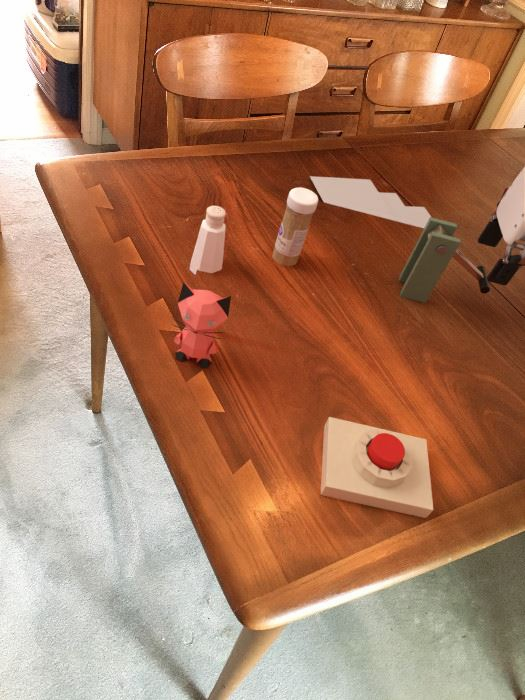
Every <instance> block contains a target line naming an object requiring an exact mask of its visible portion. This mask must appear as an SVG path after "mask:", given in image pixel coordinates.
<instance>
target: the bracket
mask: <svg viewBox="0 0 525 700" xmlns="http://www.w3.org/2000/svg"><path fill="white" fill-rule="evenodd" d="M457 224H458V223H455V222H451V221H447V220H443V219H439V218H436V217H432V216H431V217H430V218H429V220H428V222H427V224H426V226H425V228H423V229H422V232H421V234H420V235H419V237H418V239H417V241H416V244H415V245H414V246H413V249H412V251H411V253H410V254H409V256H408V258H407V261H406V263H405V265H404V267H403V269H402V271H401V272H400V274H399V276H398V282H400V283H404V284H403V286H402V288H401V290H400V292H399V297H401V298H405V299H408V300H412V301H416V302H419V303H420V302H421V303H426V302H427V301H428V299H429V297H430V296H431V294H432V292H433V290H434V289H435V287H436V285H437V284H438V282H439V280H440V279H441V277H442V276H443V274H444V272H445V270H446V268H447V267H448V265H449V263H450V262H451V261H452V258H453V257H452V256H453V255H454V253H455V251H456V250H458V248H459V246H460V245H461V243H462V242H461V238H458V237H454V234H455V233H456V230H457V229H458V225H457ZM439 225H440V226H441V227H443V228H444V229H445V230H446V231H447V232H448V233H449V234H450V235H451V236H447V235H443V234H439V233H435V232H432V233H431V235H430V237H429V239H428V235H427V234H428V233H430V232H431V231H432V230H434V229H435V228H437V227H438V226H439Z"/></svg>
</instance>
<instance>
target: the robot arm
mask: <svg viewBox="0 0 525 700" xmlns="http://www.w3.org/2000/svg"><path fill="white" fill-rule="evenodd" d="M495 208H496V209H495V212H492V214H491V215H490V220H489V221H488V222H487V224H486V225H485V227H484V229H483V230H482V232H481V234H479V236H478V237H477V243H478V244H481V245H484V246H487V247H492V248H496V247H497V246H498V245H499V244H500V242H501V240H502V239H503V240H504V242H505V244H506V247H505V251H504V254H503V258H500V257H499V259H498V261H496V263H495V264H494V266H493V268H492V269H491V271H490V272H489V274H488V275H487V280H488V283H489V282H490V283H493V284H497V285H501V286H507V285H508V284H509V283H510V281H511V280H512V279H513V277H514V276H515V275H516V273H518V271H519V270H520V269H522V268H523V267H525V166H524V167H523V168H522V169H521V170H520V172H519V173H518V174H517V176H516V178H515V179H514V180H513V182H512V183H511V185H510V186H509V187H506V188H504V190H503V193H502V195H501V198H500V200H499V201H498V202H497V203H496V207H495ZM517 241H520V242H523V243H519V242H517ZM514 249H516V250H517V249H518V250H519V251H520V252H519V254H513V252H514Z"/></svg>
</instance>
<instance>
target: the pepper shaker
mask: <svg viewBox="0 0 525 700" xmlns="http://www.w3.org/2000/svg"><path fill="white" fill-rule="evenodd" d="M226 215H227V212H226V210H225V208H224V207H221V206H219V205H210V206H208V207H207V208H206V215H205V218H204V219H203V220H202V222H201V225H200V228H199V232H198V235H197V239H196V242H195V246H194V248H193V249H194V250H193V254H192V256H191V260H190V264H189V271H190V272H191V273H192V274H193V275H194V276H196V274H197V272H204V273H207V274H215V273H216V272H219V271H221V270H223V263H224V253H225V252H224V251H225V239H226V229H227V228H226V227H227V226H226V223H224V222H225V217H226Z"/></svg>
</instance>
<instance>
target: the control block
mask: <svg viewBox="0 0 525 700" xmlns="http://www.w3.org/2000/svg"><path fill="white" fill-rule="evenodd" d="M381 433H388V434H391V435H393V436H395V437H397V438H398V439H399V440H400V441H401V442H402V444H403V446H404V448H405V456H404V458H403V459H402V460H401V462H400V463H399V464H398V466H397V467H396V468H394V469H391V470H385V469H381V468H379V467H377V466H376V465H375V464H374V463H373V462H372V461H371V460H370V458H369V456H368V447H369V445H370V443H371V442H372V440H373V439H374V437H375V436H376V435H378V434H381ZM322 443H323V444H322V459H321V479H320V496H323V497H328V498H332V499H336V500H342V501H346V502H350V503H354V504H358V505H364V506H368V507H373V508H378V509H382V510H387V511H390V512H396V513H401V514H406V515H410V516H413V515H414V517H418V518H423V519H427V518H428V517H429V516H430V514H432V512H433V511H434V499H433V492H432V490H433V489H432V481H431V472H430V460H429V453H428V451H429V450H428V441H427V439H426V438H422V437H418V436H414V435H410V434H405V433H401V432H397V431H393V430H388V429H384V428H380V427H376V426H371V425H368V424H367V425H366V424H362V423H359V422H354V421H349V420H345V419H341V418H336V417H332V416H329V417H328V418H327V420H326V421H325V424H324V426H323V441H322Z"/></svg>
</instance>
